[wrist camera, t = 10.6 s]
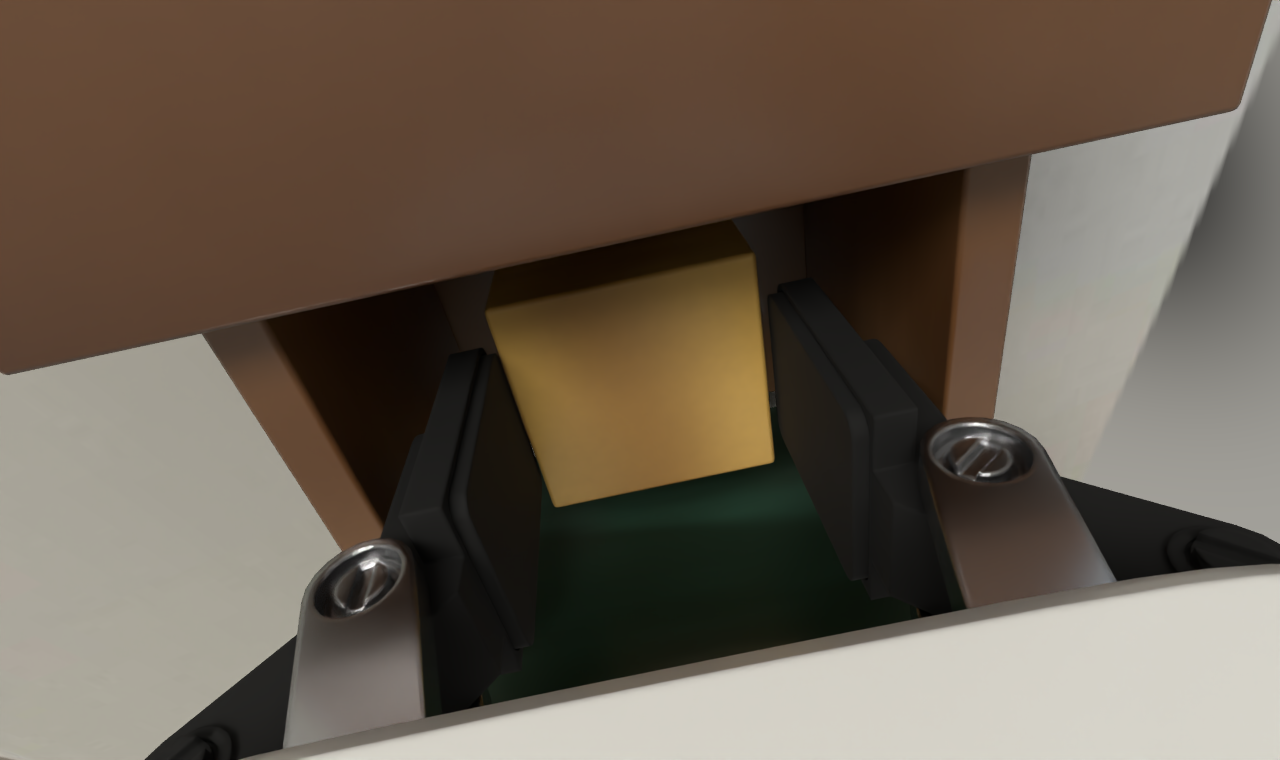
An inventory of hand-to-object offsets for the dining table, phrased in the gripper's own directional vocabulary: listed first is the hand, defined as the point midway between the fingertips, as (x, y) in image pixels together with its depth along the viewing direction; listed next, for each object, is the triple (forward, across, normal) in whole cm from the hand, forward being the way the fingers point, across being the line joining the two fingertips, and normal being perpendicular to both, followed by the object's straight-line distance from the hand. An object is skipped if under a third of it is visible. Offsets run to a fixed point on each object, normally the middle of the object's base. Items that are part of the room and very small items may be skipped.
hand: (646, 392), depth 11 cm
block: (+4, 0, 0) cm, 4 cm away
